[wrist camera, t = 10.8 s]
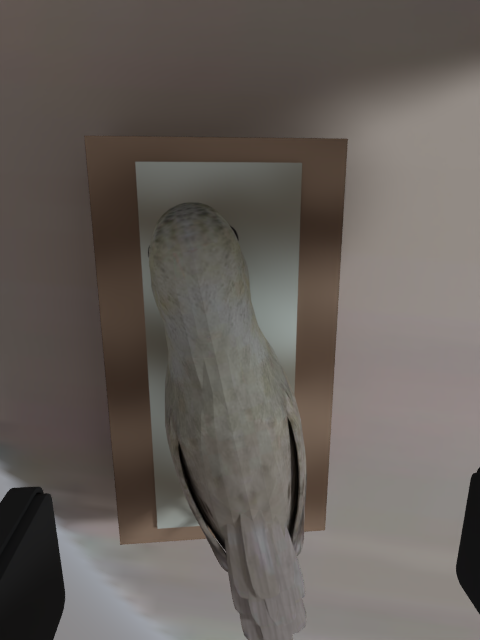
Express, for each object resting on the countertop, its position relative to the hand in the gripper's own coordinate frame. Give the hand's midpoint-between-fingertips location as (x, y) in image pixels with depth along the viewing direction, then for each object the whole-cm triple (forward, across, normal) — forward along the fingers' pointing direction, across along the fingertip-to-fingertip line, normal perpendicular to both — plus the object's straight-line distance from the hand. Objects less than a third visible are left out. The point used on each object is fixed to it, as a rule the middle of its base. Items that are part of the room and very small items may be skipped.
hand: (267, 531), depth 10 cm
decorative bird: (+12, 0, +1) cm, 12 cm away
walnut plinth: (+16, +1, +1) cm, 16 cm away
